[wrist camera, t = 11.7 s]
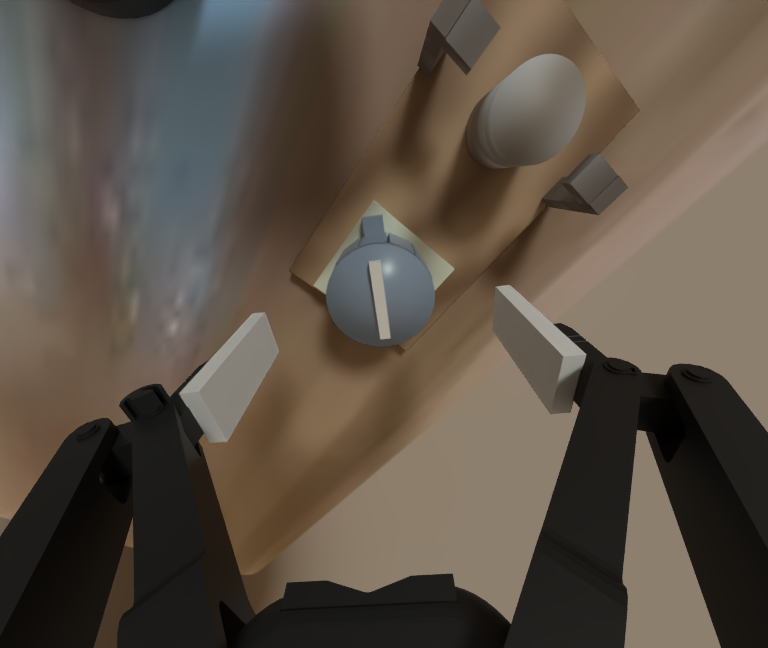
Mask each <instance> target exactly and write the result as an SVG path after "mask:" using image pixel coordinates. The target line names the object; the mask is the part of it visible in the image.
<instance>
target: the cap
mask: <svg viewBox="0 0 768 648" xmlns="http://www.w3.org/2000/svg"><path fill="white" fill-rule="evenodd" d="M362 222H363V228H364V235H363V238H362V236H360V237H359V238H358V239H357V240H355V241H354V242H353V243H352V244H350V245H349V246H348V247H347V248H345V249H344V251H343V252H342V253H341V255H340V257H339V259H338V260H337V262H336V264H335V266H334V269H333V272H332V274H331V276H330V278H329V281H328V285H327V290H326V302H327V307H328V311H329V314H330V316H331V318H332V320H333V321H334V323H335V324H336V326H337V327H338V328H339V329H340V330H341V331H342V332H343V333H344V334H345V335H347V336H348V337H349V338H351V339H353V340H355V341H357V342H359V343H361V344H365V345H369V346H375V347H387V346H393V345H397V344H400V343H403V342H405V341H407V340H409V339H411V338H412V337H414V336H415V335H416V334H418V333H419V332H420V331H421V330H422V329H423V327H424V326H425V325H426V323H427V322H428V320H429V318H430V316H431V314H432V311H433V308H434V303H435V290H434V285H433V281H432V276H431V273H430V271H429V269H428V267H427V265H426V263H425V261H424V259H423V258H422V257H421V255H420V254H419V252H418V251H417V249H416V248H415V247H414V245H413V244H412V243H410V241H408V240H406V239H404V238H401V237H399V236H397V235H394V234H392V233H390V232H389V234H388V236H387V233H386V232H385V231H384V223H383V215H382V214H380V215H372V216H365V217H362Z"/></svg>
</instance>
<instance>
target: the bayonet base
mask: <svg viewBox="0 0 768 648" xmlns="http://www.w3.org/2000/svg"><path fill="white" fill-rule="evenodd" d="M418 66H419V67H420V68H419V70H418V71H417V73H416V74H415V76H414V77H413V79H412V81H411V82H410V84H409V85H408V87H407V88H406V90H405V91H404V93H403V94H402V96H401V98H400V99H399V101H398V102H397V104H396V105H395V107H394V108H393V110H392V112H391V113H390V115H389V116H388V118H387V119H386V121H385V122H384V124H383V126H382V127H381V129H380V130H379V132H378V133H377V135H376V136H375V138H374V139H373V141H372V143H371V144H370V146H369V147H368V149H367V150H366V152H365V153H364V155H363V157H362V158H361V160H360V161H359V163H358V164H357V166H356V167H355V169H354V170H353V172H352V174H351V175H350V177H349V178H348V180H347V181H346V183H345V184H344V186H343V188H342V189H341V191H340V192H339V194H338V195H337V197H336V198H335V200H334V201H333V203H332V205H331V206H330V208H329V209H328V211H327V212H326V214H325V215H324V217H323V219H322V220H321V222H320V223H319V225H318V226H317V228H316V229H315V231H314V233H313V234H312V236H311V237H310V239H309V240H308V242H307V243H306V245H305V246H304V248H303V250H302V251H301V253H300V254H299V256H298V257H297V259H296V260H295V262H294V264H293V265H292V267H291V268H290V270H289V271H290V272H292V273H293V274H295V275H296V276H297V277H299V278H300V279H302V280H303V281H305V282H306V283H308V284H309V285H311V286H312V287H314V288H315V289H316V290H318V291H319V292H321V293H322V294H324V295H325V296H326V290H327V285H328V281H329V278H330V276H331V274H332V272H333V269H334V266H335V264H336V262H337V260H338V259H339V257H340V255H341V253H342V252H343V251H344V249H345V248H347V247H348V246H349V245H350V244H352V243H353V242H354V241H355V240H357V239H358V238H359V237H360V236H362V238H363V235H364V228H363V222H362V217H365V216H372V215H380V214H382V215H383V223H384V231H385V232H386V233H387V236H388V234H389V232H390V233H392V234H394V235H397V236H399V237H401V238H404V239H406V240H408V241H410V243H412V244H413V245H414V247H415V248H416V249H417V251H418V252H419V254H420V255H421V257H422V258H423V259H424V261H425V263H426V265H427V267H428V269H429V271H430V273H431V276H432V281H433V285H434V290H435V303H434V308H433V311H432V314H431V316H430V318H429V320H428V322H427V323H426V325H425V326H424V327H423V329H422V330H421V331H420V332H419V333H418V334H416V335H415V336H414V337H412V338H411V339H409V340H407V341H405V342H403V343H400V344H397V345H398V346H400V347H401V348H403V349H404V350H407V349H408V348H409V347H410V346H411V345H412V344H413V343H414V342H415V341H416V340H417V339H418V338H419V337H420V336H421V335H422V334H423V333H424V332H425V331H426V330H427V329H428V328H429V327H430V326H431V325H432V324H433V323H434V322H435V321H436V320H437V319H438V318H439V317H440V315H441V314H442V313H443V312H444V311H445V310H446V309H447V308H448V307H449V306H450V305H451V304H452V303H453V302H454V301H455V300H456V299H457V298H458V297H459V296H460V295H461V294H462V293H463V292H464V291H465V290H466V289H467V288H468V287H469V286H470V285H471V284H472V283H473V282H474V281H475V280H476V278H477V277H478V276H479V275H480V274H481V273H482V272H483V271H484V270H485V269H486V268H487V267H488V266H489V265H490V264H491V263H492V262H493V261H494V260H495V259H496V258H497V257H498V256H499V255H500V254H501V253H502V252H503V251H504V250H505V249H506V248H507V247H508V246H509V245H510V244H511V243H512V241H513V240H514V239H515V238H516V237H517V236H518V235H519V234H520V233H521V232H522V231H523V230H524V229H525V228H526V227H527V226H528V225H529V224H530V223H531V222H532V221H533V220H534V219H535V218H536V217H537V216H538V215H539V214H540V213H541V212H542V211H543V210H544V209H545V208H546V207H547V205H548V206H549V207H553V208H559V209H565V210H571V211H577V212H583V213H589V214H595V215H599V214H600V213H601V212H603V211H604V210H605V209H606V208H607V207H608V206H609V205H610V204H611V203H612V202H613V201H614V200H615V199H616V198H617V197H619V196H620V195H621V194H622V193H623V192H624V191H625V190H626V189H627V188H628V186H627V185H626V184H625V183H624V181H623V180H622V179H621V178H620V176H618V175H617V174H616V173H615V172H614V170H613V169H612V168H611V167H610V165H609V164H608V163H607V161H606V160H605V159H604V158H603V156H602V155H601V154H600V153H599V152H600V151H601V150H602V149H603V148H604V147H605V146H606V145H607V144H608V143H609V142H610V141H611V140H612V139H613V138H614V137H615V136H616V135H617V134H618V133H619V131H620V130H621V129H622V128H623V127H624V126H625V125H626V124H627V123H628V122H629V121H630V120H631V119H632V118H633V117H634V116H635V115H636V114H637V113H638V112H639V111H640V110H639V108H638V107H637V105H636V104H635V103H634V101H633V100H632V98H631V97H630V95H629V94H628V92H627V91H626V90H625V88H624V87H623V85H622V84H621V82H620V81H619V79H618V78H617V77H616V75H615V74H614V72H613V71H612V69H611V68H610V66H609V65H608V64H607V62H606V61H605V59H604V58H603V56H602V55H601V53H600V52H599V51H598V49H597V48H596V46H595V45H594V43H593V42H592V40H591V39H590V38H589V36H588V35H587V33H586V32H585V30H584V29H583V27H582V26H581V25H580V23H579V22H578V20H577V19H576V17H575V16H574V15H573V13H572V12H571V10H570V9H569V7H568V6H567V4H566V3H565V2H564V0H443V1H442V3H441V4H440V6H439V7H438V9H437V11H436V12H435V14H434V16H433V17H432V19H431V20H430V24H429V27H428V31H427V34H426V38H425V41H424V45H423V48H422V52H421V55H420V59H419V62H418Z"/></svg>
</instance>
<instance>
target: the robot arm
mask: <svg viewBox="0 0 768 648" xmlns="http://www.w3.org/2000/svg"><path fill="white" fill-rule="evenodd" d="M69 1H71V2H72V3H74V4H76V5H78V6H80V7H82V8H85V9H87V10H89V11H92V12H95V13H98V14H101V15H105V16H110V17H117V18H136V17H142V16H146V15H149V14H152V13H154V12H157V11H159V10H161V9H162V8H164V7H166V6H167V5H168V4H170V3H171V2H172V1H173V0H69ZM492 330H493V331H494V333H495V334H496V336H497V337H498V339H499V340H500V341H501V343H502V344H503V346H504V347H505V349H506V350H507V352H508V353H509V355H510V356H511V358H512V359H513V360H514V362H515V363H516V365H517V366H518V368H519V369H520V371H521V372H522V373H523V375H524V376H525V378H526V379H527V381H528V382H529V384H530V385H531V387H532V388H533V390H534V391H535V392H536V394H537V395H538V397H539V398H540V400H541V401H542V403H543V404H544V406H545V407H546V408H547V410H548V411H549V413H550V414H556V413H569V412H571V409H572V405H573V402H574V401H575V403H576V404H577V405H578V406H579V407H580V409H579V412H578V416H577V419H576V422H575V425H574V428H573V431H572V434H571V438H570V441H569V444H568V447H567V450H566V453H565V457H564V460H563V463H562V466H561V469H560V472H559V476H558V479H557V482H556V485H555V488H554V491H553V495H552V498H551V501H550V504H549V507H548V510H547V514H546V517H545V520H544V523H543V527H542V529H541V532H540V535H539V538H538V541H537V544H536V547H535V550H534V554H533V557H532V560H531V563H530V566H529V569H528V572H527V575H526V579H525V582H524V585H523V588H522V591H521V594H520V598H519V601H518V604H517V607H516V611H515V614H514V616H513V620H512V623H511V624H510V623H509V622H508V620H507V619H505V617H503V615H501V614H500V613H499V612H498V611H497V610H496V609H495V608H494V607H493V606H491V605H490V604H489V603H488V602H486V601H485V600H483V599H482V598H480V597H478V596H477V595H475V594H473V593H471V592H469V591H466V590H465V589H461V588H458V587H455V585H454V579H453V574H436V575H417V576H409V577H407V578H405V579H402V580H400V581H397V582H395V583H392V584H390V585H387V586H385V587H382V588H380V589H377V590H375V591H372V592H369V593H366V592H361V591H359V590H355V589H352V588H349V587H346V586H343V585H339V584H336V583H333V582H330V581H309V582H291V583H287V585H286V589H285V594H284V598H282V599H279V600H277V601H276V602H274V603H272V604H270V605H269V606H268V607H266V608H265V609H263V610H262V611H261V612H259V613H258V614H257V615H256V614H255V612H254V611H253V609H252V607H251V605H250V603H249V600H248V597H247V595H246V591H245V588H244V585H243V581H242V578H241V575H240V571H239V568H238V565H237V561H236V558H235V555H234V552H233V548H232V545H231V542H230V538H229V535H228V532H227V528H226V525H225V522H224V518H223V515H222V512H221V509H220V505H219V502H218V499H217V495H216V492H215V489H214V485H213V482H212V479H211V476H210V472H209V469H208V466H207V462H206V459H205V456H204V452H203V449H202V446H201V445H200V443H199V442H198V441H199V439H200V438H201V436H202V435H203V434H204V435H205V436H206V438H207V440H208V441H209V443H218V442H227V441H228V440H229V438H230V436H231V434H232V433H233V431H234V429H235V427H236V426H237V424H238V422H239V421H240V419H241V417H242V415H243V414H244V412H245V410H246V408H247V407H248V405H249V403H250V401H251V400H252V398H253V396H254V395H255V393H256V391H257V389H258V388H259V386H260V384H261V382H262V381H263V379H264V377H265V375H266V374H267V372H268V370H269V368H270V367H271V365H272V363H273V362H274V360H275V358H276V356H277V355H278V353H279V349H278V347H277V344H276V341H275V338H274V336H273V333H272V330H271V327H270V324H269V322H268V319H267V316H266V313H265V312H263V313H254V314H251V316H250V317H249V318H248V319H247V320H246V321H245V322H244V323H243V324H242V325H241V326H240V328H239V329H238V330H237V331H236V332H235V333H234V334H233V335H232V336H231V337H230V338H229V340H228V341H227V342H226V343H225V344H224V345H223V346H222V347H221V348H220V349H219V350H218V351H217V353H216V354H215V355H214V356H213V357H212V358H211V359H210V360H208V361H206V362H205V363H203V364H202V365H201V366H199V367H198V368H197V369H196V370H195V371H194V372H193V373H192V374H191V376H189V377H188V378H187V380H186V382H184V383H183V384H182V385H181V386H180V387H179V388H178V389H177V390H176V391H175V392H174V393H173V394H172V395H171V397H169V396H168V394H167V393H166V391H165V390H164V388H163V387H162V385H161V384H151V385H147V386H144V387H141V388H139V389H137V390H135V391H133V392H132V393H130V394H129V395H127V396H126V397H125V398H124V399H123V400H122V401H121V402H120V405H119V406H120V408H121V409H122V410H123V411H124V413H125V414H126V415H127V416H128V418H129V419H130V420H131V422H128V423H125V424H122V425H118V426H115V425H114V424H113V423H112V421H111V420H110V419H108V418H101V419H97V420H94V421H92V422H89V423H86V424H84V425H83V426H80V427H79V428H77V429H76V430H75V431H74V432H72V433H71V434H70V435H69V436H68V437H67V438H66V439H65V440H64V442H63V443H62V445H61V446H60V448H59V449H58V451H57V452H56V454H55V455H54V457H53V458H52V460H51V461H50V463H49V464H48V466H47V467H46V469H45V470H44V472H43V473H42V475H41V476H40V478H39V479H38V481H37V482H36V484H35V485H34V487H33V488H32V490H31V491H30V493H29V494H28V496H27V497H26V499H25V500H24V502H23V503H22V505H21V506H20V508H19V509H18V511H17V512H16V514H15V515H14V517H13V518H12V520H11V521H10V523H9V524H8V526H7V527H6V529H5V530H4V532H3V533H2V535H1V536H0V648H93V647H94V644H95V641H96V637H97V634H98V631H99V627H100V624H101V621H102V618H103V614H104V611H105V608H106V604H107V601H108V598H109V594H110V591H111V588H112V584H113V581H114V578H115V574H116V571H117V568H118V564H119V561H120V557H121V554H122V551H123V548H124V544H125V541H126V538H127V534H128V531H129V528H130V524H131V521H132V518H133V544H134V605H133V607H132V608H131V609H129V610H128V611H127V612H125V613H124V614H123V615H122V617H121V619H120V621H119V627H118V635H117V648H624V643H625V631H626V619H627V604H628V603H627V602H628V595H627V588H626V587H625V586H624V585H623V581H622V573H623V572H622V571H623V562H624V553H625V543H626V533H627V523H628V513H629V502H630V493H631V483H632V473H633V463H634V454H635V444H636V434H637V433H636V432H637V430H642V431H646V434H647V437H648V440H649V443H650V445H651V448H652V451H653V454H654V457H655V460H656V462H657V465H658V468H659V471H660V474H661V477H662V480H663V483H664V485H665V488H666V491H667V494H668V497H669V500H670V503H671V505H672V508H673V511H674V514H675V517H676V520H677V523H678V526H679V528H680V531H681V534H682V537H683V540H684V542H685V546H686V548H687V551H688V554H689V557H690V560H691V562H692V566H693V568H694V571H695V574H696V577H697V580H698V583H699V586H700V589H701V591H702V594H703V597H704V600H705V603H706V606H707V608H708V611H709V614H710V617H711V620H712V623H713V626H714V629H715V631H716V634H717V637H718V640H719V643H720V646H721V648H768V432H767V431H766V430H765V428H764V427H763V426H762V425H761V423H760V422H759V421H758V419H757V418H756V417H755V416H754V414H753V413H752V412H751V410H750V409H749V408H748V407H747V405H746V404H745V403H744V401H743V400H742V399H741V398H740V396H739V395H738V394H737V392H736V391H735V390H734V389H733V387H732V386H731V385H730V383H729V382H728V381H727V380H726V379H725V378H724V377H723V376H721V375H720V374H718V373H716V372H714V371H712V370H710V369H708V368H704V367H702V366H696V365H691V364H676V365H672V366H671V367H670V368H669V370H668V372H667V375H661V374H660V375H659V374H651V373H642V372H641V370H639V368H638V367H636V366H635V365H633V364H631V363H630V362H627V361H624V360H621V359H617V358H607V357H606V356H605V355H603V354H602V353H601V352H600V351H598V350H597V349H596V348H595V347H594V346H593V345H591V344H590V343H589V342H587V341H586V340H585V339H584V338H583V337H582V336H580V335H579V334H578V333H577V332H576V331H574V330H573V329H572V328H570V327H568V326H566V325H564V324H561V323H558V324H552V323H551V322H550V321H549V320H548V319H547V318H546V317H545V316H544V315H542V314H541V313H540V312H539V311H538V310H537V309H536V308H535V307H534V306H532V305H531V304H530V303H529V302H528V301H527V300H526V299H525V298H524V297H522V296H521V295H520V294H519V293H518V292H517V291H516V290H515V289H514V288H513V287H511V286H510V285H505V286H496V288H495V301H494V314H493V327H492Z"/></svg>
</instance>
